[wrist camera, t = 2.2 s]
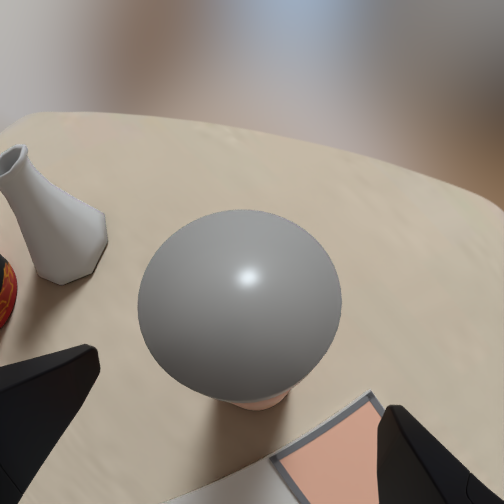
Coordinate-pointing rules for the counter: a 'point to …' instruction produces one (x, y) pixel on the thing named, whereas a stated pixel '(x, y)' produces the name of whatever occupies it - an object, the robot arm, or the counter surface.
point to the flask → (51, 220)
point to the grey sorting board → (310, 465)
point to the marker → (240, 306)
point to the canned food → (6, 290)
